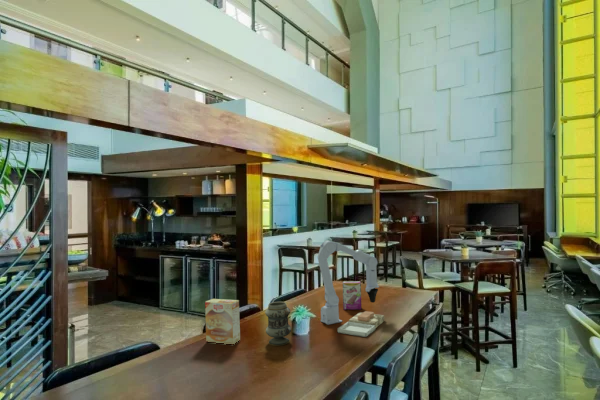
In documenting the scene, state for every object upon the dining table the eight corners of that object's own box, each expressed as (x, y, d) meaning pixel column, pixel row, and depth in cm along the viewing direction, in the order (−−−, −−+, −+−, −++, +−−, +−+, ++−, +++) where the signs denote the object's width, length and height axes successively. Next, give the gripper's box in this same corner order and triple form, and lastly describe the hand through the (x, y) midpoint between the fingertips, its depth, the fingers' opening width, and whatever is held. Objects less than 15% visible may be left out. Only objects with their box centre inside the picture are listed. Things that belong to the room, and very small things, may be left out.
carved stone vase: (280, 335, 181) (278, 299, 182) (297, 341, 173) (295, 302, 173) (260, 342, 173) (259, 304, 173) (277, 348, 164) (276, 308, 165)
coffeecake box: (205, 342, 176) (204, 301, 176) (214, 337, 182) (212, 298, 183) (233, 345, 170) (231, 303, 171) (240, 340, 177) (239, 299, 178)
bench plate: (374, 328, 186) (374, 322, 186) (349, 325, 194) (349, 319, 194) (384, 320, 199) (384, 315, 199) (360, 317, 206) (359, 312, 206)
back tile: (370, 318, 194) (370, 314, 194) (361, 317, 197) (361, 313, 197) (373, 315, 198) (373, 312, 199) (365, 314, 201) (365, 311, 201)
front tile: (366, 321, 190) (366, 317, 190) (357, 320, 192) (357, 316, 192) (370, 318, 194) (370, 314, 194) (361, 317, 196) (361, 313, 196)
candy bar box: (343, 310, 223) (342, 282, 224) (343, 307, 228) (342, 281, 229) (362, 309, 222) (360, 282, 223) (361, 307, 227) (360, 280, 228)
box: (366, 337, 175) (366, 332, 175) (337, 332, 183) (337, 328, 183) (375, 329, 186) (375, 325, 186) (348, 325, 194) (348, 321, 194)
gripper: (373, 280, 197) (375, 306, 196) (382, 275, 209) (383, 299, 209) (361, 279, 200) (362, 304, 200) (371, 275, 213) (372, 298, 212)
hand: (372, 302), depth 205 cm, fingers closed
